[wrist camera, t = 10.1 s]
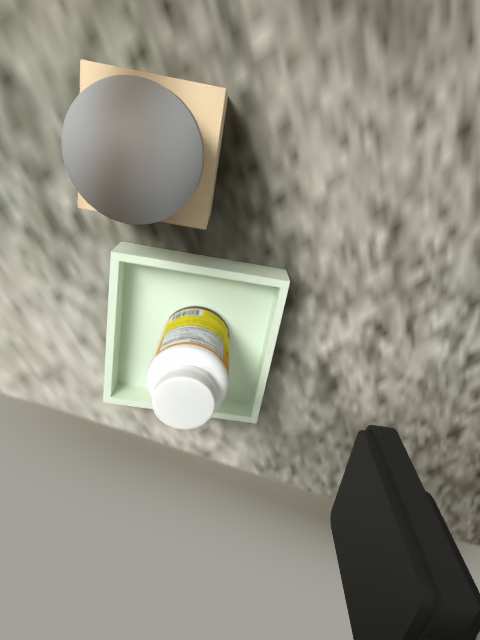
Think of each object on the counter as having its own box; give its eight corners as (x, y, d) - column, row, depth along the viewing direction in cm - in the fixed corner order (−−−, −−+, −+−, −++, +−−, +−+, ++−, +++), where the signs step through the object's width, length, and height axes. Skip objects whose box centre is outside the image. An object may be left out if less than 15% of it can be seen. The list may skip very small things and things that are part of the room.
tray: (285, 269, 34) (290, 281, 31) (255, 403, 39) (256, 423, 37) (121, 241, 33) (110, 251, 30) (112, 382, 38) (103, 402, 36)
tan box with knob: (228, 96, 29) (223, 80, 20) (211, 212, 32) (200, 245, 23) (110, 72, 28) (50, 46, 19) (105, 194, 32) (51, 220, 23)
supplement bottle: (204, 373, 37) (192, 454, 28) (151, 337, 36) (120, 411, 26) (244, 327, 35) (246, 398, 26) (190, 288, 34) (171, 349, 25)
